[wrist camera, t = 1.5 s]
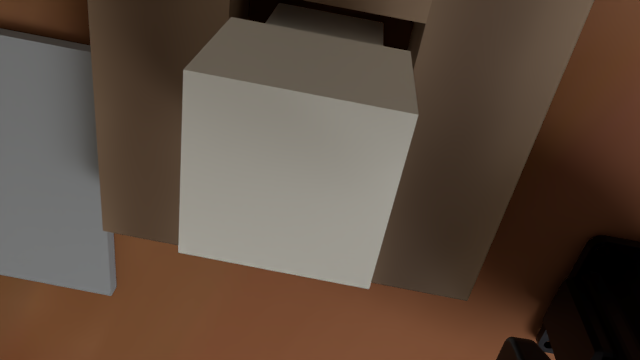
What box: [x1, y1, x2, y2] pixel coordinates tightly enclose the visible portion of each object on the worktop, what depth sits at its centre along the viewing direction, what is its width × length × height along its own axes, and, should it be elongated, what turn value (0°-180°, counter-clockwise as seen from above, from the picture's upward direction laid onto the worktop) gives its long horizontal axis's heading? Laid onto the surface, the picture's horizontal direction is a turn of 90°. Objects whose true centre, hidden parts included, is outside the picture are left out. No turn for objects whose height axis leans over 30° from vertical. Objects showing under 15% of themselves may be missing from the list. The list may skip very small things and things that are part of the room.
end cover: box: [178, 3, 419, 289], centre depth 16 cm, size 5×5×8 cm
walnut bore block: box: [87, 0, 594, 301], centre depth 18 cm, size 14×14×3 cm
